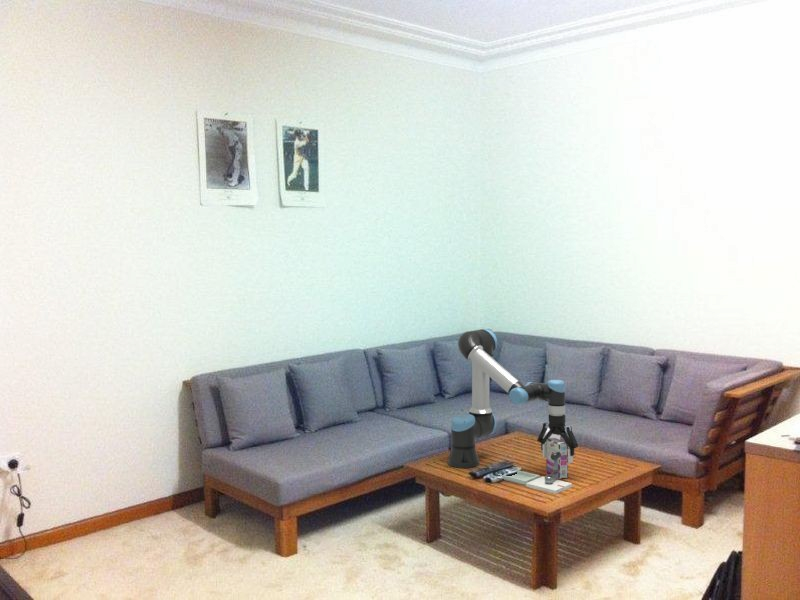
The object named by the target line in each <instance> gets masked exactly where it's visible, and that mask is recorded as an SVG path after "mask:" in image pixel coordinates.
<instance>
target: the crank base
mask: <svg viewBox="0 0 800 600" xmlns="http://www.w3.org/2000/svg"><path fill="white" fill-rule="evenodd" d="M525 487H526V488H529V489H535V490H539V491H541V492H546V493H549V494H553V495H556V494H559V493H561V492H564V491H566V490H569V489H570V488H572V487H573V483H571V482H567V481H563V480H561V479H556V480H554V481H553V483H552V484H547V483H545V476H540V478H538V479H535V480H533V481H530V482H528V483H526V486H525Z"/></svg>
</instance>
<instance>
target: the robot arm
mask: <svg viewBox="0 0 800 600" xmlns="http://www.w3.org/2000/svg"><path fill="white" fill-rule="evenodd" d="M497 347H498V339H497V336H496V334H495V333H494V332H493V331H492V330H490V329H485V328H484V329H482V328H481V329H475V330H470V331H469V330H468V331H465V332H464V333H462V334H461V335H460V336H459V338H458V340H457V348H458V350H459V353H460V354H461V355H462V356H463V357H464V358H465V359H466V360H467V361H468V362H470V363H472V364H471V366H472V367H471V375H472V377H471V384H472V385H471V400H472V401H471V408H470V409H469V410H468V413H463V414H458V415H455V416H453V417H452V419H451V421H450V422H451V423H450V428H451V430H450V431H451V432H450V434H451V435H450V436H451V440H450V441H451V442H450V443H451V448H450V453H449V455H448V459H447V464H448V465H449V466H450V467H454V468H458V469H470V468H476V467H478V466H480V458H479V456H478V452H477V450H476V449H477V447H476V440H479V439H482V438H486V437H489V436H490V435H492V434H494V433H495V431H496V429H497V422H498V421H497V418H496V417H495V415H494V414H493V409H492V408H491V407H490V378H491V379H492V380H493V381H494V382H495V383H496V384H497V385H498V386H500V388H502V389H503V390H504V392H506V393H507V394H509V395H508V397H509V400H510V402H511V403H513V404H514V405H524V404H526V403H527V404H528V403H529V402H533V401H537V400H542V401H547V402H548V403H547V404H548V405H547V406H548V407H547V408H548V421H547V422H544V423H542V428H541V430H540V432H539V435H538V437H537V440H536V441H537V443H540V447H541V448H540V449H541V451H542V458H543V459H546V443H545V442H546V440H547V439H548V438H549V437H550V436H551V435H552V434H557V435H560V436H561V437H562V438H563V441H564V442H566V443H567V445H568V464H571V463H574V456H575V449H576V448H578V447H579V444H578V442H577V440H576V437H575V434H574V432H573V429H572V426H571V425H570V426H569V425H568V426H567V425H566V386H565V385H566V384H565V382H564V380H561V379H551V380H548V381H547V383H541V382H536V381H534V382H533V381H531V382H530V381H529V382H526V384H525V385H524V384H523V383H522V382H521V381H519V380H518V379H517V378H516V377H514V376H513V374H512V373H510V372H509V371H508V370H507V369H506V368H504V367H503V366H502V365H501V364H499V362H497V360H496V359H494V357H493V356H494V351H495V350H496V349H497ZM547 428H550V430H549V431H548V433H547V434H546V436H545V437H544V435H545V433H546V431H547ZM543 437H544V438H543ZM561 437H560V438H561Z"/></svg>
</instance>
